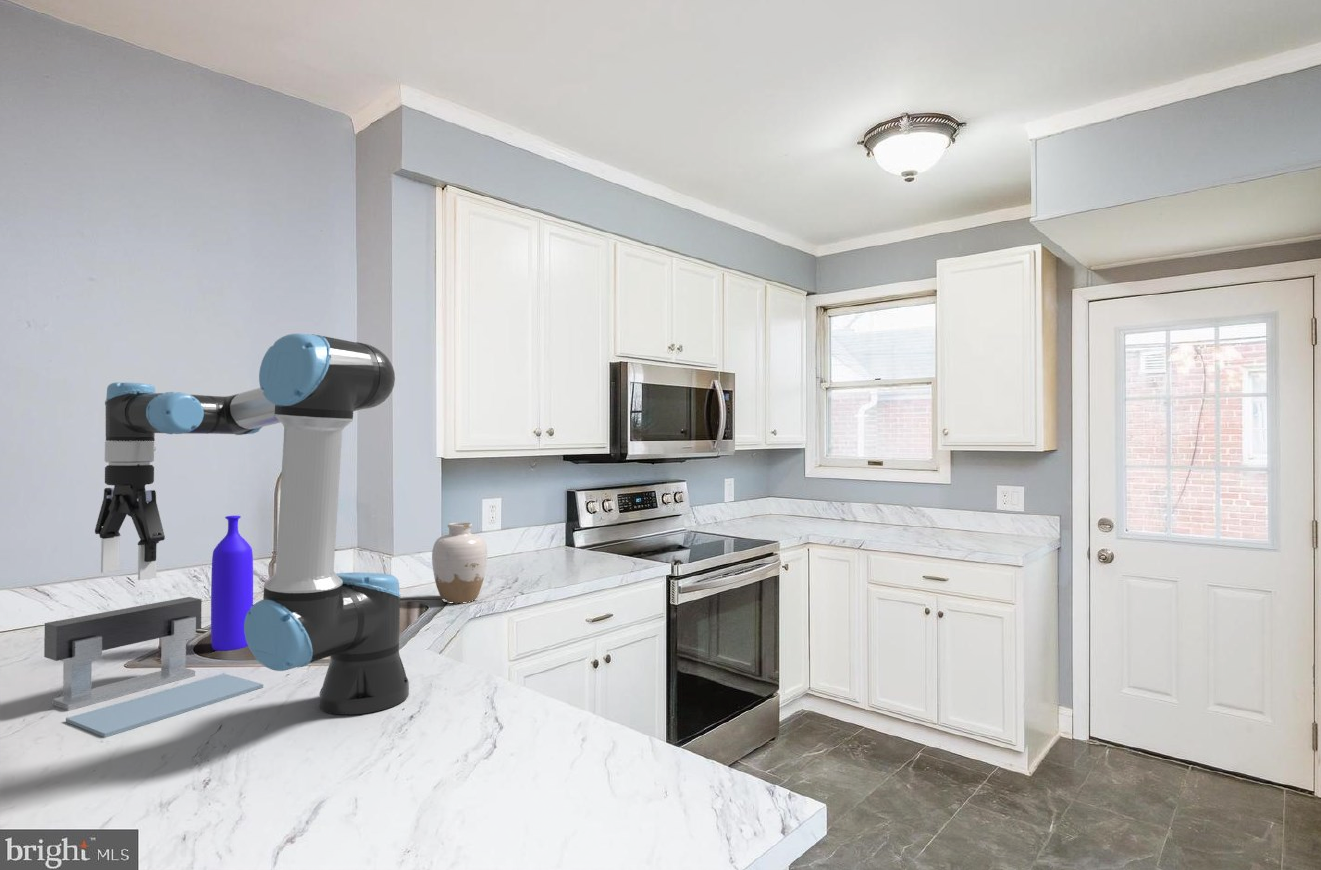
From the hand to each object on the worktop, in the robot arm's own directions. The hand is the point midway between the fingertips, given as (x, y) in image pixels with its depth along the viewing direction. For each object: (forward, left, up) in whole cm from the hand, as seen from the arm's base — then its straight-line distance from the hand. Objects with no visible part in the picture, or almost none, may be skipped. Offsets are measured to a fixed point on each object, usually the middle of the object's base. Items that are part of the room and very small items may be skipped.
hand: (128, 575), depth 134 cm
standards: (0, 0, -22) cm, 22 cm away
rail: (0, 0, -13) cm, 13 cm away
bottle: (+11, -26, -22) cm, 36 cm away
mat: (-15, 0, -22) cm, 27 cm away
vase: (-1, -86, -22) cm, 89 cm away
